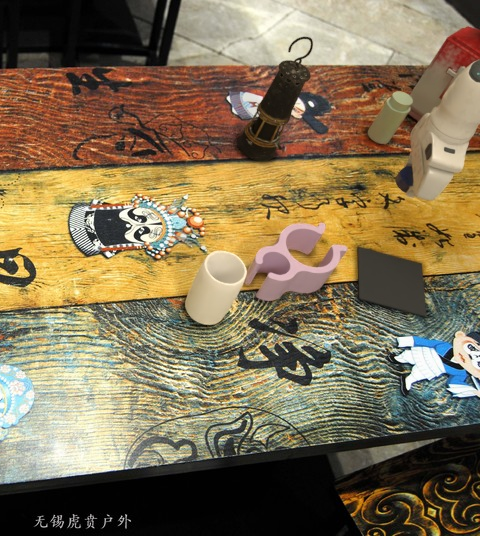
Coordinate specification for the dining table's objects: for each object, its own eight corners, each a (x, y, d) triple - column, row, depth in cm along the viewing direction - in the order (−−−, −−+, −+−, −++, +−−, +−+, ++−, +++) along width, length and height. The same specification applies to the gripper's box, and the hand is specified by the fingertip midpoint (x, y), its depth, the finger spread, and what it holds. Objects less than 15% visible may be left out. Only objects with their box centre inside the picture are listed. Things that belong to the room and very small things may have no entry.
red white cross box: (396, 111, 188) (462, 9, 164) (417, 97, 193) (484, -4, 169) (444, 145, 182) (519, 45, 158) (464, 130, 187) (540, 30, 163)
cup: (180, 324, 139) (201, 281, 127) (182, 289, 144) (203, 244, 133) (224, 333, 139) (249, 291, 128) (225, 297, 144) (248, 253, 133)
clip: (270, 313, 143) (283, 293, 138) (231, 267, 149) (242, 246, 143) (341, 277, 152) (356, 257, 146) (302, 234, 157) (315, 213, 152)
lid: (395, 191, 154) (400, 184, 152) (394, 169, 157) (399, 163, 155) (423, 198, 154) (429, 192, 152) (421, 176, 157) (427, 170, 155)
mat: (420, 264, 157) (421, 263, 157) (425, 317, 149) (426, 316, 148) (357, 247, 157) (358, 246, 157) (358, 299, 149) (359, 298, 149)
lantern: (277, 163, 169) (332, 57, 146) (239, 158, 168) (288, 51, 145) (272, 135, 175) (324, 29, 151) (235, 131, 174) (281, 23, 150)
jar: (389, 130, 183) (414, 93, 173) (390, 146, 179) (416, 109, 170) (366, 125, 183) (390, 87, 173) (367, 140, 179) (391, 102, 170)
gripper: (425, 97, 150) (392, 145, 161) (431, 165, 138) (395, 212, 149) (455, 105, 150) (419, 153, 161) (464, 174, 138) (425, 221, 149)
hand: (408, 182), depth 155 cm, fingers closed on lid, 6 cm apart
